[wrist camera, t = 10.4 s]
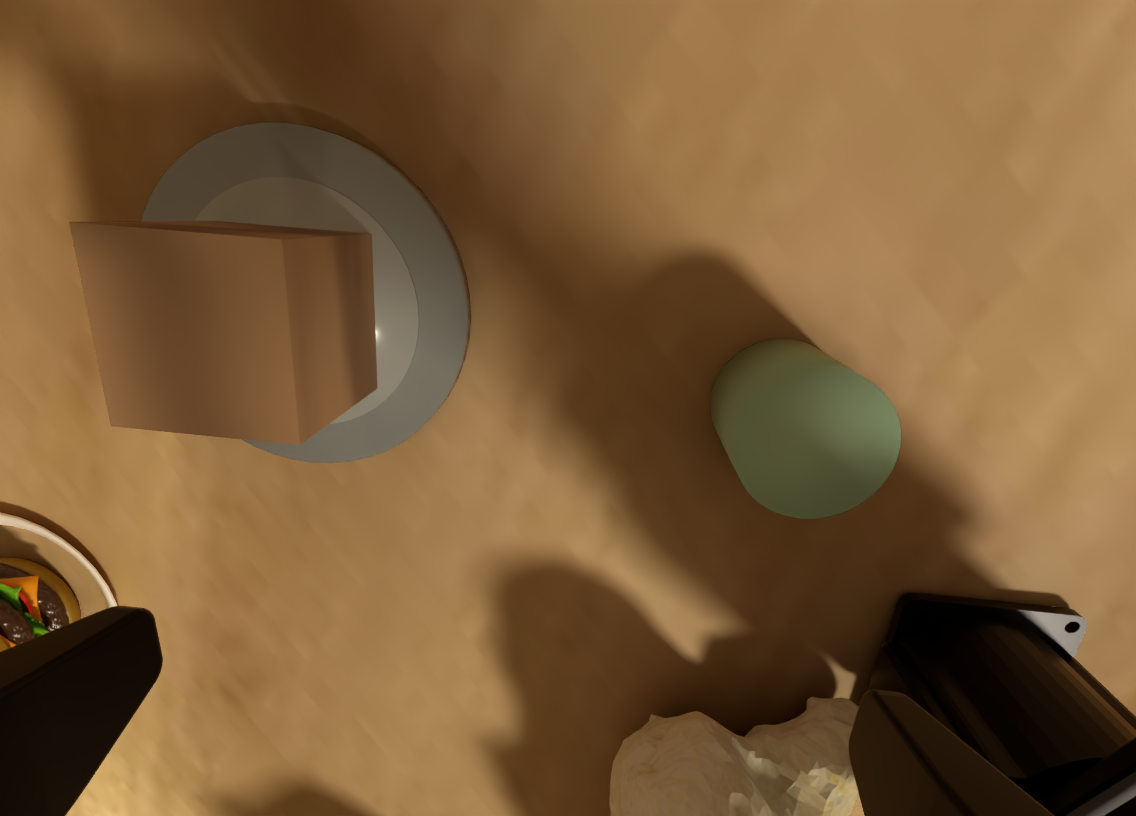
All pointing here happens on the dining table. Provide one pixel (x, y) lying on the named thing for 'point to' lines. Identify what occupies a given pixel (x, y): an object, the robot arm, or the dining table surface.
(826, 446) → the green tin
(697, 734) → the white lumpy piece
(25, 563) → the hamburger
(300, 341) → the walnut block
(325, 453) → the saucer
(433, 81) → the dining table surface
